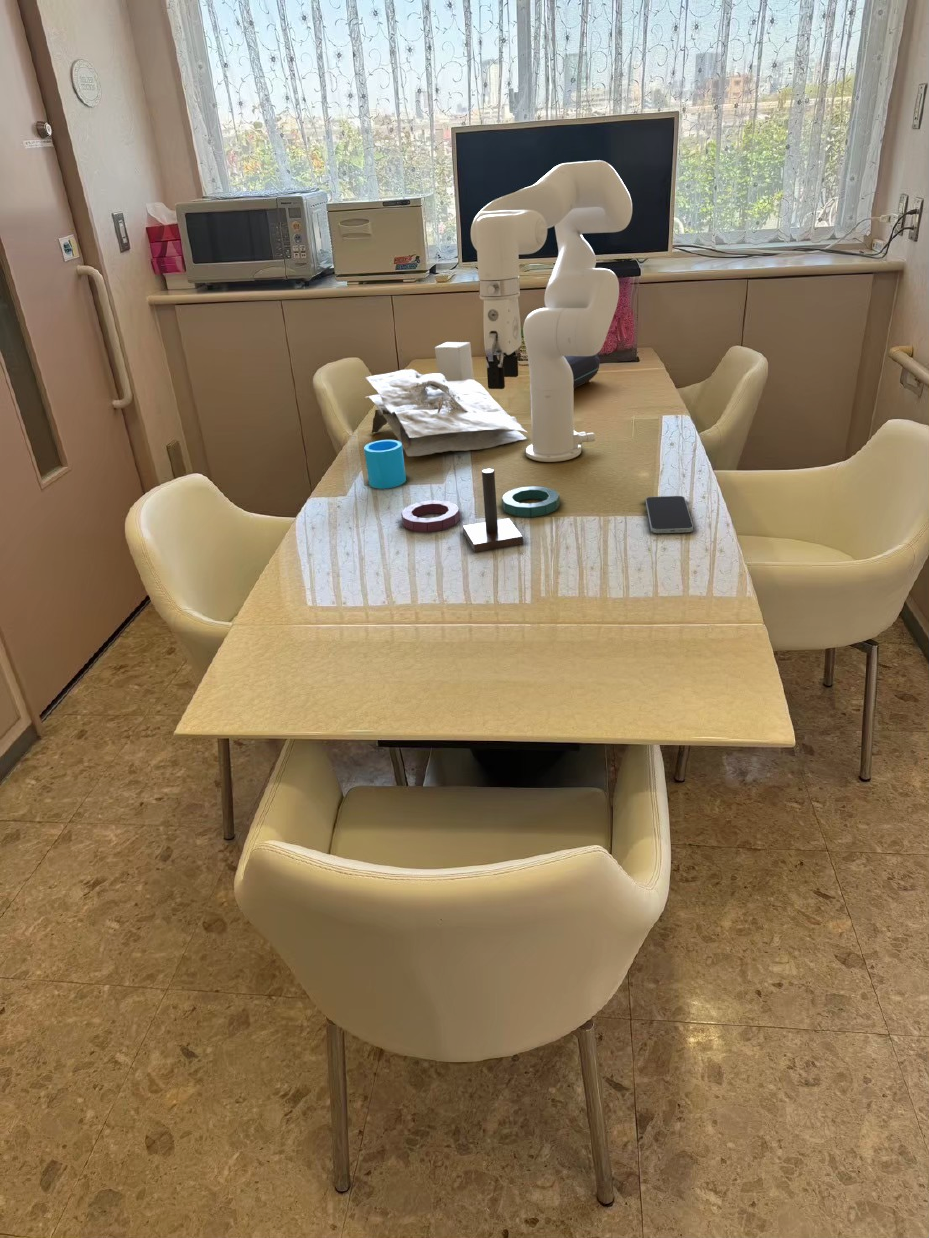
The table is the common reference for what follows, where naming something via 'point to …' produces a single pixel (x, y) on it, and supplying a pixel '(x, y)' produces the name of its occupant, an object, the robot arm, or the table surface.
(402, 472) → the mug
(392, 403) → the plastic wrap
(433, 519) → the plum ring
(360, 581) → the table surface
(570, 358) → the portable speaker
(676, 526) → the smartphone
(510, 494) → the teal ring
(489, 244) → the robot arm
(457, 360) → the cosmetic box
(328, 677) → the table surface
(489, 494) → the peg stand
